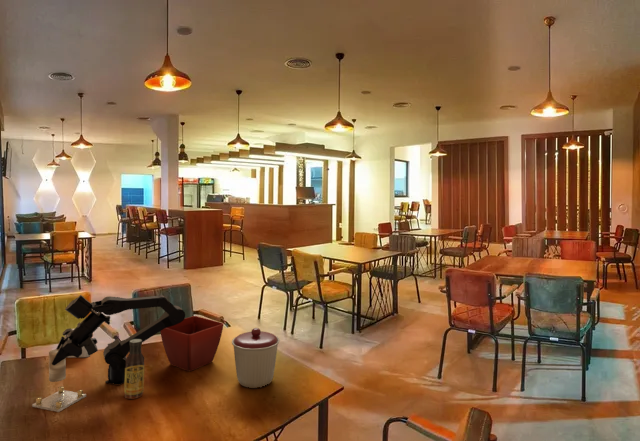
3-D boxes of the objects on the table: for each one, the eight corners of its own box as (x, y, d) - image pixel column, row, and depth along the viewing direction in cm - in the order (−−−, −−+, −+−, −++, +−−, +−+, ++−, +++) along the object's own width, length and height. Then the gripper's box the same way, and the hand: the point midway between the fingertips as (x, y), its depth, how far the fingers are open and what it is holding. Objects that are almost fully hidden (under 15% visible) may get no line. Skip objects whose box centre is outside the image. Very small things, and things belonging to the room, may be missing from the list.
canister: (242, 370, 167) (242, 319, 166) (284, 374, 163) (285, 323, 162) (223, 390, 149) (223, 333, 148) (270, 396, 146) (271, 338, 145)
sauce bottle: (124, 401, 140) (124, 345, 139) (123, 393, 145) (123, 339, 144) (145, 397, 143) (145, 342, 142) (143, 390, 148) (143, 336, 147)
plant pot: (224, 361, 176) (224, 322, 175) (188, 377, 160) (188, 335, 159) (194, 351, 186) (194, 315, 185) (158, 365, 170) (158, 325, 169)
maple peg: (68, 375, 147) (68, 348, 147) (60, 382, 142) (59, 353, 142) (54, 375, 147) (54, 348, 147) (45, 381, 142) (45, 353, 142)
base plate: (86, 396, 143) (86, 389, 143) (58, 412, 132) (58, 404, 132) (61, 391, 146) (61, 385, 146) (32, 406, 135) (32, 399, 135)
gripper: (108, 346, 144) (72, 384, 139) (103, 331, 160) (71, 365, 155) (82, 328, 140) (44, 366, 134) (80, 314, 156) (46, 348, 150)
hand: (52, 361), depth 144 cm, fingers closed on maple peg, 5 cm apart
